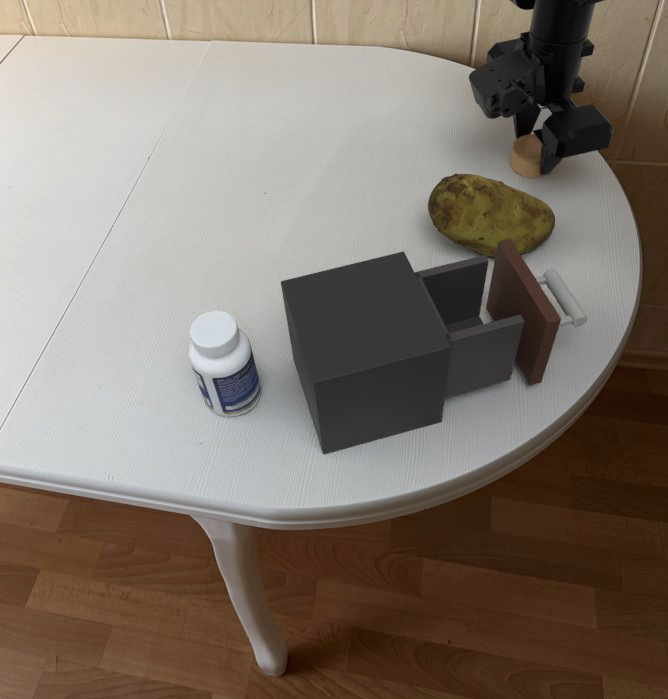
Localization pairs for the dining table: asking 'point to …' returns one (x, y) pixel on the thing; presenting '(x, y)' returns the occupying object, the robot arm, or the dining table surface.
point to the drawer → (497, 318)
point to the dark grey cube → (366, 351)
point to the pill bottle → (223, 364)
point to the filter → (527, 156)
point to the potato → (488, 214)
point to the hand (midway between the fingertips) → (532, 158)
